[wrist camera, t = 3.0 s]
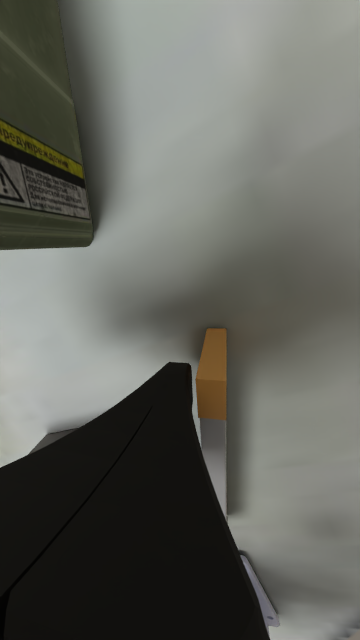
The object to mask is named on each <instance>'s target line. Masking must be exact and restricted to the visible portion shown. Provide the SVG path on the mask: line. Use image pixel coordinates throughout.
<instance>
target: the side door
mask: <svg viewBox="0 0 360 640" xmlns="http://www.w3.org/2000/svg"><path fill="white" fill-rule="evenodd" d="M226 378H227V348H226V329H221V328H207V332H206V336H205V340H204V345H203V349H202V353H201V358H200V362H199V367H198V371H197V375H196V392H197V406H198V418H200V429H201V445H202V454H203V457H204V460H205V463H206V466H207V469H208V472H209V475H210V478H211V481H212V484H213V486H214V489H215V492H216V495H217V498H218V501H219V503H220V506H221V508H222V511H223V514H224V516H225V519H226V521H227V524H228V517H227V471H226Z"/></svg>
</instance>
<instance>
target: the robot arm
mask: <svg viewBox="0 0 360 640" xmlns="http://www.w3.org/2000/svg"><path fill="white" fill-rule="evenodd" d="M192 404H193V393H192V371H191V365H190V364H189V363H176V362H169V363H167V364H166V365H165V366H164V367H163V368H162V369H160V370H159V371H158V372H157V373H156V374H155V375H153V376H152V377H151V378H150V379H149V380H147V381H146V382H145V383H144V384H143V385H141V386H140V387H139V388H138V389H136V390H135V391H134V392H132V393H131V394H130V395H128V396H127V397H126V398H124V399H123V400H122V401H120V402H119V403H118V404H116V405H115V406H114V407H112V408H111V409H109V410H108V411H106V412H105V413H103V414H102V415H100V416H98V417H97V418H95V419H93V420H92V421H90V422H89V423H87V424H85V425H84V426H82V427H80V428H78V429H77V430H75V431H73V432H71V433H69V434H67V435H66V436H64V437H62V438H60V439H58V440H56V441H55V442H53V443H51V444H49V445H47V446H45V447H43V448H41V449H39V450H37V451H35V452H33V453H31V454H29V455H27V456H25V457H23V458H20V459H18V460H16V461H14V462H12V463H10V464H7V465H5V466H3V467H1V468H0V640H270V637H269V628H268V626H274V627H279V625H280V623H279V618H278V616H277V614H276V612H275V610H274V608H273V606H272V605H271V603H270V601H269V599H268V597H267V595H266V593H265V592H264V590H263V588H262V586H261V584H260V582H259V580H258V578H257V577H256V575H255V573H254V571H253V569H252V567H251V565H250V564H249V562H248V560H247V558H246V557H245V556H243V555H240V554H239V551H238V549H237V546H236V544H235V542H234V539H233V537H232V534H231V532H230V529H229V527H228V524H227V521H226V519H225V516H224V514H223V511H222V508H221V506H220V503H219V501H218V498H217V495H216V492H215V489H214V486H213V484H212V481H211V478H210V475H209V472H208V469H207V466H206V463H205V460H204V457H203V454H202V450H201V447H200V443H199V440H198V436H197V432H196V428H195V424H194V420H193V415H192Z"/></svg>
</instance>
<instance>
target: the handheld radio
mask: <svg viewBox="0 0 360 640" xmlns="http://www.w3.org/2000/svg"><path fill="white" fill-rule="evenodd" d="M92 240H93V226H92V220H91V213H90V207H89V200H88V194H87V187H86V180H85V174H84V167H83V161H82V154H81V148H80V141H79V134H78V128H77V121H76V115H75V108H74V102H73V101H72V94H71V87H70V81H69V74H68V68H67V61H66V55H65V48H64V41H63V35H62V28H61V22H60V15H59V9H58V2H57V0H0V250H14V249H41V248H69V247H87V246H89V245H90V244H91V242H92Z"/></svg>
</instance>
